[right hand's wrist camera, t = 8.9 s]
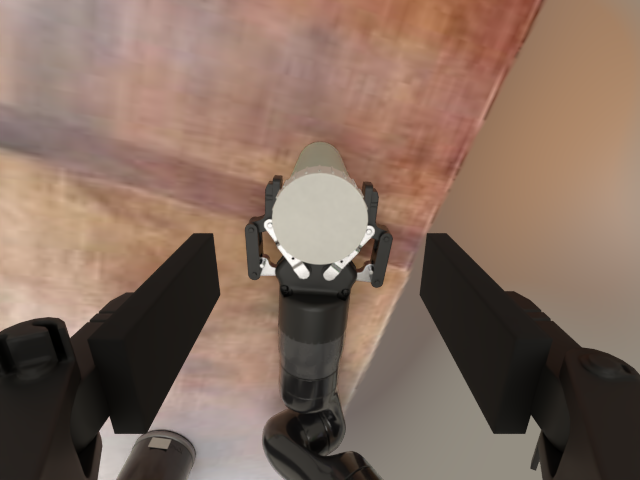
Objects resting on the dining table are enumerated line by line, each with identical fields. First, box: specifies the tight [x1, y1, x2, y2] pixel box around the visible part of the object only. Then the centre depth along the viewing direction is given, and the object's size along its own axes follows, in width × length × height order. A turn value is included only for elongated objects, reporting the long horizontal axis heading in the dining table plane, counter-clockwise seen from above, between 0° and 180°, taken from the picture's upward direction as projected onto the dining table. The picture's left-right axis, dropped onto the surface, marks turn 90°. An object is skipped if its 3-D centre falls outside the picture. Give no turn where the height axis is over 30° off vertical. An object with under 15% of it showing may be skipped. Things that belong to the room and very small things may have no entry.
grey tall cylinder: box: [291, 142, 349, 176], centre depth 29 cm, size 5×5×20 cm
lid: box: [272, 165, 368, 265], centre depth 20 cm, size 5×6×2 cm
